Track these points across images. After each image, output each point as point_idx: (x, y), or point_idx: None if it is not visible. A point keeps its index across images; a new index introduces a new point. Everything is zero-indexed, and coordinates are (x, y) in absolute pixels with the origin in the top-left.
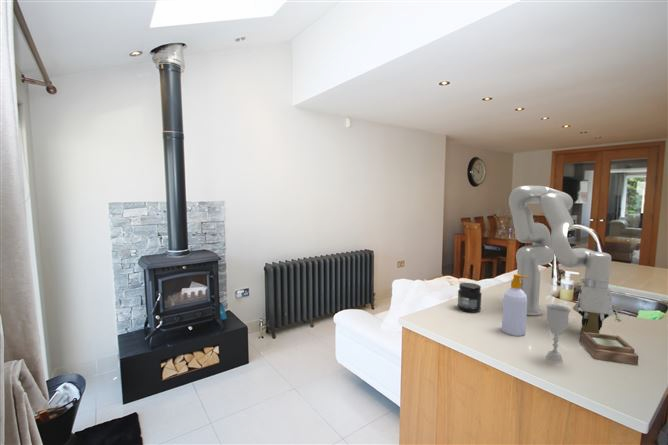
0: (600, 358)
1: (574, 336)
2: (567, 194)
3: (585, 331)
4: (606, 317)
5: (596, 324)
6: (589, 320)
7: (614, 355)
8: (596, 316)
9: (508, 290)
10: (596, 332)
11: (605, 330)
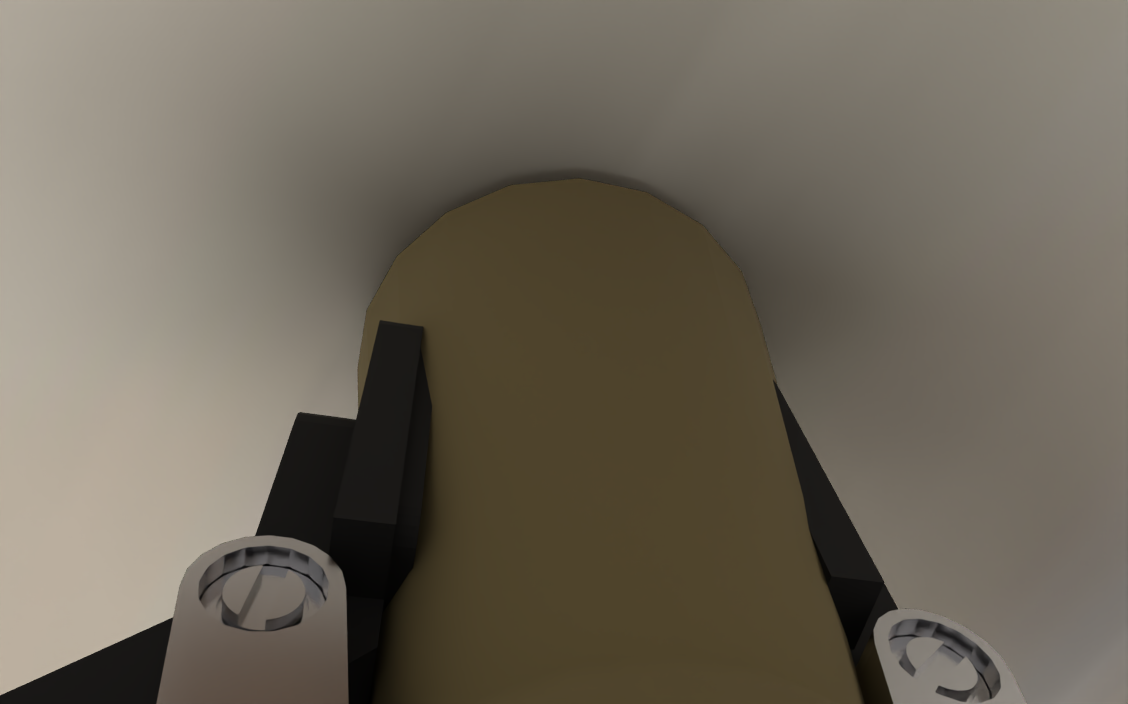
0: None
1: (1031, 179)
2: None
3: (752, 319)
4: (20, 700)
5: (536, 394)
6: (790, 524)
7: None
8: (572, 670)
9: None
10: (517, 242)
11: (41, 649)
